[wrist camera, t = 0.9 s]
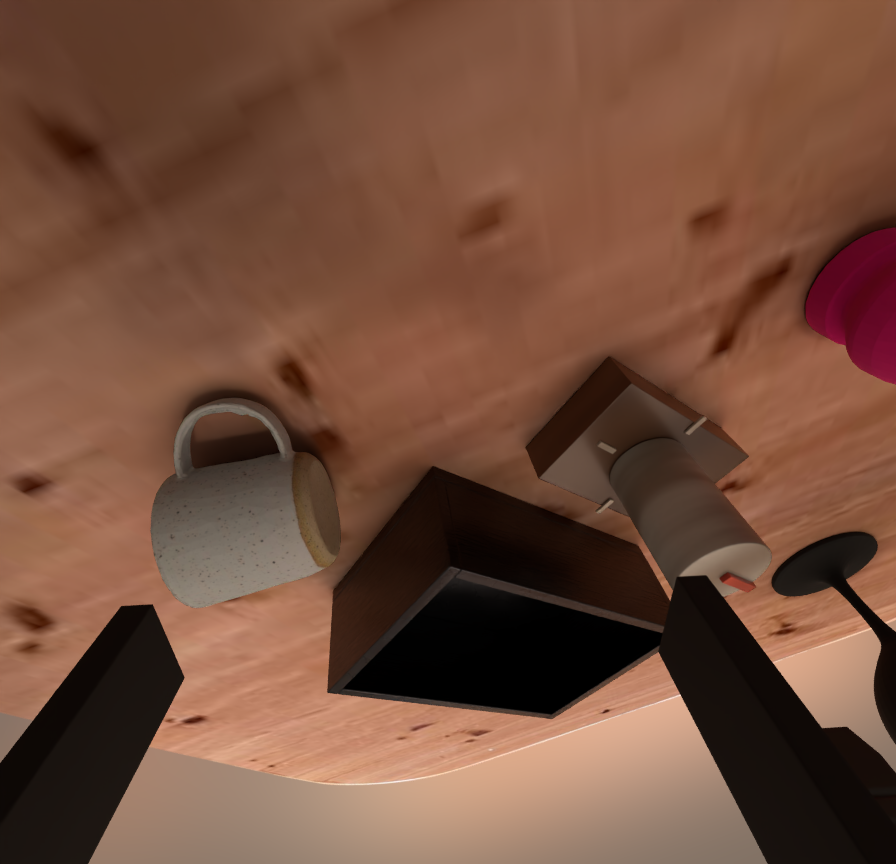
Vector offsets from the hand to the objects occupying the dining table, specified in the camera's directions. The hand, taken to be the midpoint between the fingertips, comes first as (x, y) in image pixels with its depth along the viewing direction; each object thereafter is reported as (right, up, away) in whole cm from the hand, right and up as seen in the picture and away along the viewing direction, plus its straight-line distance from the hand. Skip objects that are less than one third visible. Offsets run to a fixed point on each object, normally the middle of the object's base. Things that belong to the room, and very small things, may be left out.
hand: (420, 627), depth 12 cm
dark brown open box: (+4, -7, +27) cm, 28 cm away
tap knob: (+14, +3, +18) cm, 22 cm away
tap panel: (+13, +5, +20) cm, 24 cm away
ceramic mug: (-11, +3, +17) cm, 21 cm away
